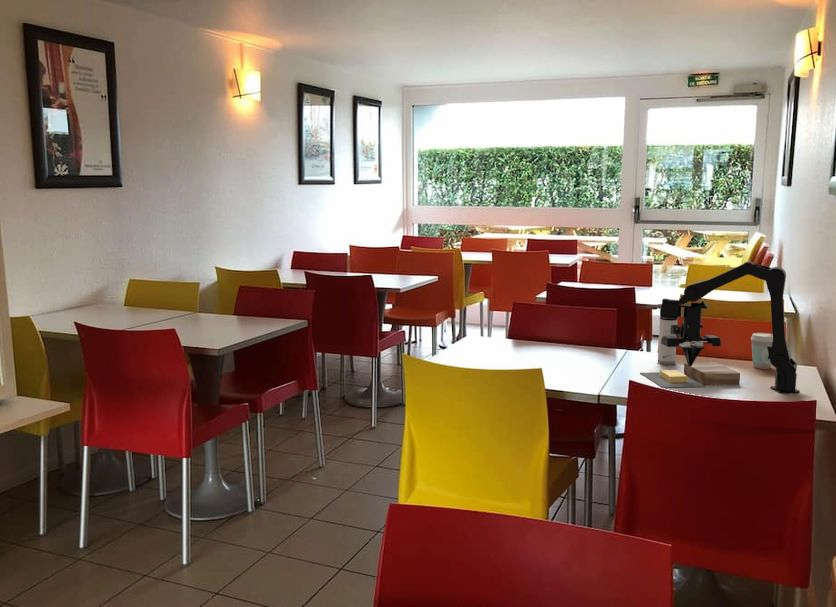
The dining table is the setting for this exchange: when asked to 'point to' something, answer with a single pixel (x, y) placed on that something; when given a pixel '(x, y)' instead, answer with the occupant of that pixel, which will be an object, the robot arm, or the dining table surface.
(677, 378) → the yellow flat block
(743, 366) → the dining table surface
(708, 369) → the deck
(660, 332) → the travel mug
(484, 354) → the dining table surface
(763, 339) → the coffee cup
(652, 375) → the mat
